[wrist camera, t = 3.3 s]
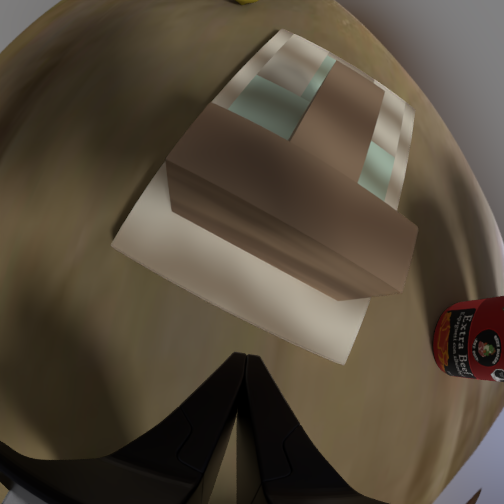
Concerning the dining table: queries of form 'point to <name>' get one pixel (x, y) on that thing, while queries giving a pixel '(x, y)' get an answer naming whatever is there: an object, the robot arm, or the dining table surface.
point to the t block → (298, 191)
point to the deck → (241, 262)
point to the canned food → (472, 340)
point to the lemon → (245, 1)
